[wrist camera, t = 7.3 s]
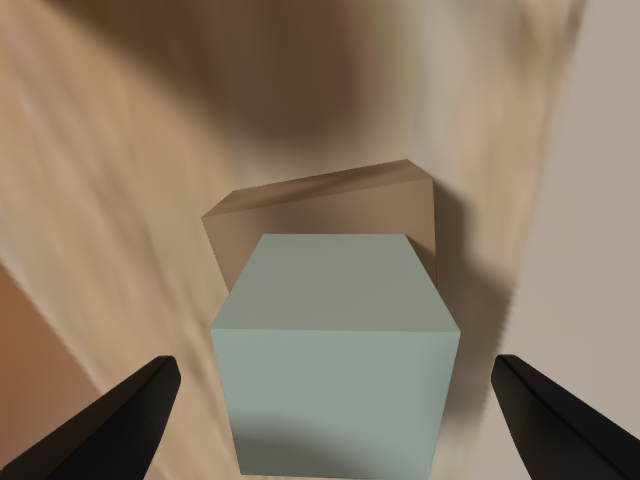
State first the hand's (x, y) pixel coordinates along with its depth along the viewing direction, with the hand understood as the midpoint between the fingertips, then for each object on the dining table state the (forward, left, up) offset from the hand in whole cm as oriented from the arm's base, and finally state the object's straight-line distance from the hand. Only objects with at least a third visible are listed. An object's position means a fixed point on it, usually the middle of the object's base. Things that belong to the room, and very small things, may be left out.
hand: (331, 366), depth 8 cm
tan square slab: (0, 0, -8) cm, 8 cm away
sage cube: (0, 0, -4) cm, 4 cm away
